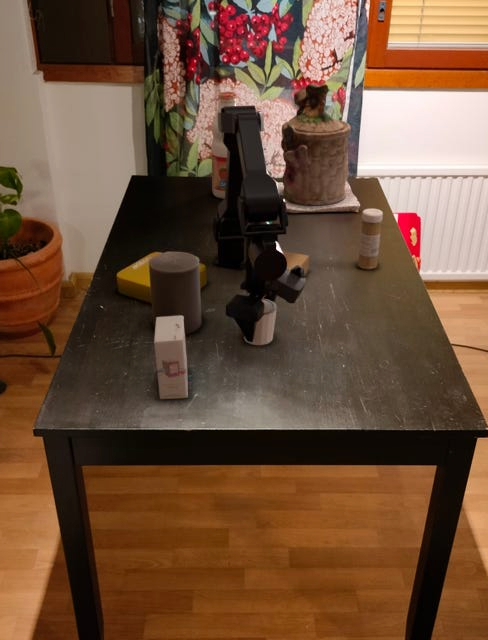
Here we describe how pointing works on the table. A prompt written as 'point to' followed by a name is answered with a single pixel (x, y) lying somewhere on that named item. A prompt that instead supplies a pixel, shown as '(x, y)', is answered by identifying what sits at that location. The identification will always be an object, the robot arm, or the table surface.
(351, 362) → the table surface
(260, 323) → the shot glass
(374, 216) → the sprinkles bottle
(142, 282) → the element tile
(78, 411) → the table surface
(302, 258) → the maple block
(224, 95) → the fruit juice
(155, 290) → the pillar candle
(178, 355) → the ink box
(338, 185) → the cookie jar
